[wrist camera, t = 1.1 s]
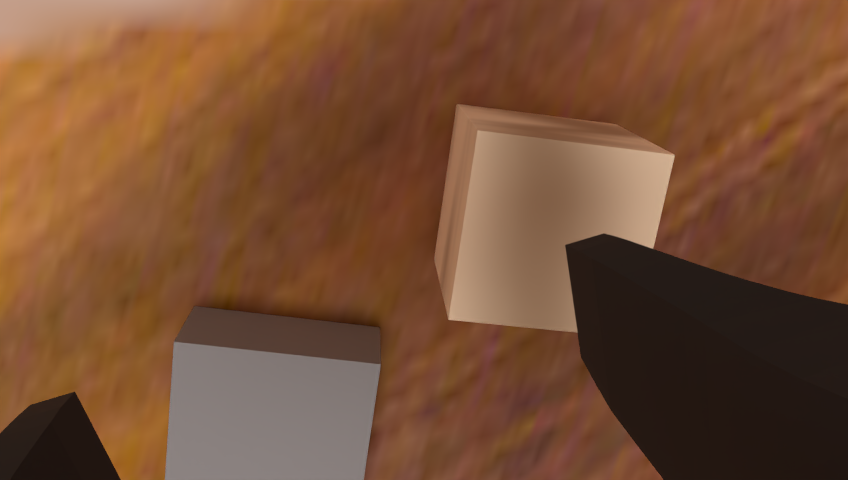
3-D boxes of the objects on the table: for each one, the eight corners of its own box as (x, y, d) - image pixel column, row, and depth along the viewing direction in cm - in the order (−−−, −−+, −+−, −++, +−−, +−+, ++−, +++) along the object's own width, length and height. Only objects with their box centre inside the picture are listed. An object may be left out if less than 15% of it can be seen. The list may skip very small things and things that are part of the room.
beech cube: (615, 123, 24) (674, 154, 19) (584, 274, 26) (632, 337, 21) (456, 103, 24) (477, 130, 19) (433, 258, 25) (448, 319, 20)
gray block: (379, 323, 26) (381, 364, 23) (357, 478, 28) (355, 534, 25) (196, 302, 25) (173, 341, 22) (184, 462, 27) (162, 517, 24)
